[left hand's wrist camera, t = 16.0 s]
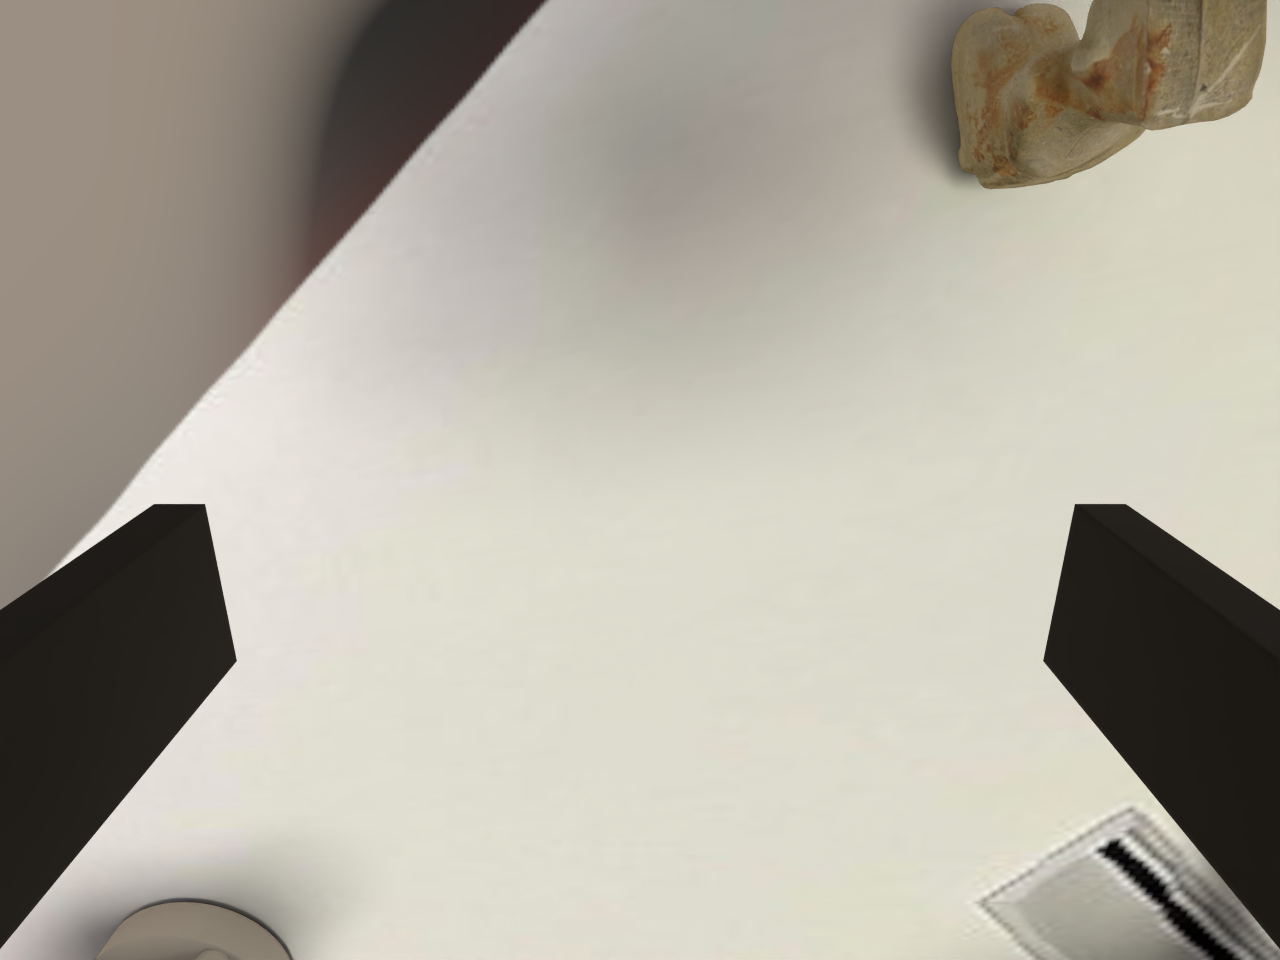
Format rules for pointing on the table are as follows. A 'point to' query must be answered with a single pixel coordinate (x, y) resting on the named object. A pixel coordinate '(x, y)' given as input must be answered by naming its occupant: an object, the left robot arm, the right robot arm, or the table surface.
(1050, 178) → the sculpture
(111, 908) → the table surface
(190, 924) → the bust sculpture
